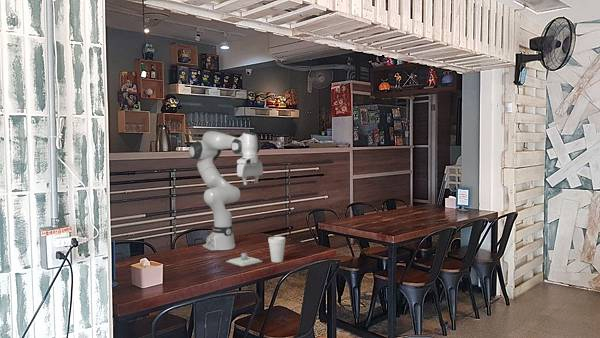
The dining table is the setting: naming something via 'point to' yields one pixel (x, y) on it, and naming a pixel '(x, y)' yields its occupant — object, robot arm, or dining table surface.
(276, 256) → the foam cup
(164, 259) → the dining table surface
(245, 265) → the mat
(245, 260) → the lid
